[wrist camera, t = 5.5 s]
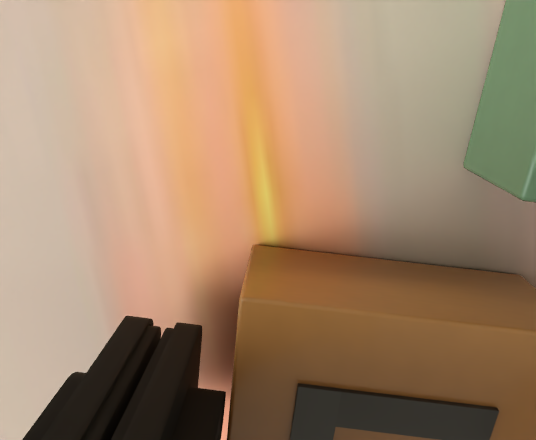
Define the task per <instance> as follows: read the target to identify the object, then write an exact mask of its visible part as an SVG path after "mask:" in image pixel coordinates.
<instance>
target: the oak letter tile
mask: <svg viewBox="0 0 536 440" xmlns="http://www.w3.org/2000/svg"><path fill="white" fill-rule="evenodd" d="M227 440H536V288H534V287H533V286H532V285H531V284H530V283H529V282H528V281H527V280H526V279H524V278H523V277H522V276H521V275H515V274H507V273H498V272H489V271H480V270H472V269H463V268H454V267H445V266H437V265H428V264H419V263H410V262H402V261H393V260H384V259H375V258H367V257H358V256H349V255H340V254H332V253H323V252H314V251H305V250H297V249H288V248H279V247H270V246H262V245H253V247H252V250H251V254H250V258H249V262H248V266H247V270H246V274H245V278H244V282H243V286H242V290H241V294H240V298H239V308H238V320H237V331H236V343H235V354H234V366H233V377H232V389H231V400H230V411H229V423H228V434H227Z"/></svg>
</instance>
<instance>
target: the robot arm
mask: <svg viewBox="0 0 536 440" xmlns="http://www.w3.org/2000/svg"><path fill="white" fill-rule="evenodd" d="M201 341H202V326H201V325H193V324H186V323H176V325H175V327H174V329H173V328H166V329H165V331H164V333H163V335H162V337H161V328H160V327H158V326H153V320H152V319H148V318H140V317H133V316H126V317H125V318H124V319H123V321H122V322H121V324H120V325H119V327H118V328H117V329H116V331H115V332H114V334H113V335H112V337H111V338H110V340H109V341H108V343H107V344H106V345H105V347H104V348H103V350H102V351H101V353H100V354H99V356H98V357H97V359H96V360H95V361H94V363H93V364H92V366H91V367H90V369H89V370H88V372H87V373H81V372H75V373H73V374H71V375H70V376H69V378H68V379H67V380H66V381H65V383H64V384H63V385H62V387H61V388H60V389H59V391H58V392H57V393H56V395H55V396H54V398H53V399H52V400H51V402H50V403H49V404H48V406H47V407H46V408H45V410H44V411H43V412H42V414H41V415H40V417H39V418H38V419H37V421H36V422H35V423H34V425H33V426H32V427H31V429H30V430H29V431H28V433H27V434H26V435H25V437H24V438H23V440H220V439H221V432H222V425H223V416H224V407H225V397H226V392H224V391H216V390H209V389H201V388H198V378H199V366H200V353H201Z"/></svg>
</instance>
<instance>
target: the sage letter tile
mask: <svg viewBox="0 0 536 440" xmlns="http://www.w3.org/2000/svg"><path fill="white" fill-rule="evenodd" d="M464 168H466V169H467V170H469V171H471V172H473V173H474V174H476V175H478V176H480V177H482V178H483V179H485V180H487V181H489V182H491V183H492V184H494V185H496V186H498V187H499V188H501V189H503V190H505V191H507V192H508V193H510V194H512V195H514V196H515V197H517V198H519V199H521V200H523V201H529V202H536V0H506V3H505V7H504V11H503V14H502V18H501V22H500V26H499V30H498V34H497V38H496V41H495V45H494V49H493V53H492V57H491V61H490V64H489V68H488V72H487V76H486V80H485V84H484V88H483V91H482V95H481V99H480V103H479V107H478V111H477V114H476V118H475V122H474V126H473V130H472V134H471V138H470V141H469V145H468V149H467V153H466V157H465V161H464Z"/></svg>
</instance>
